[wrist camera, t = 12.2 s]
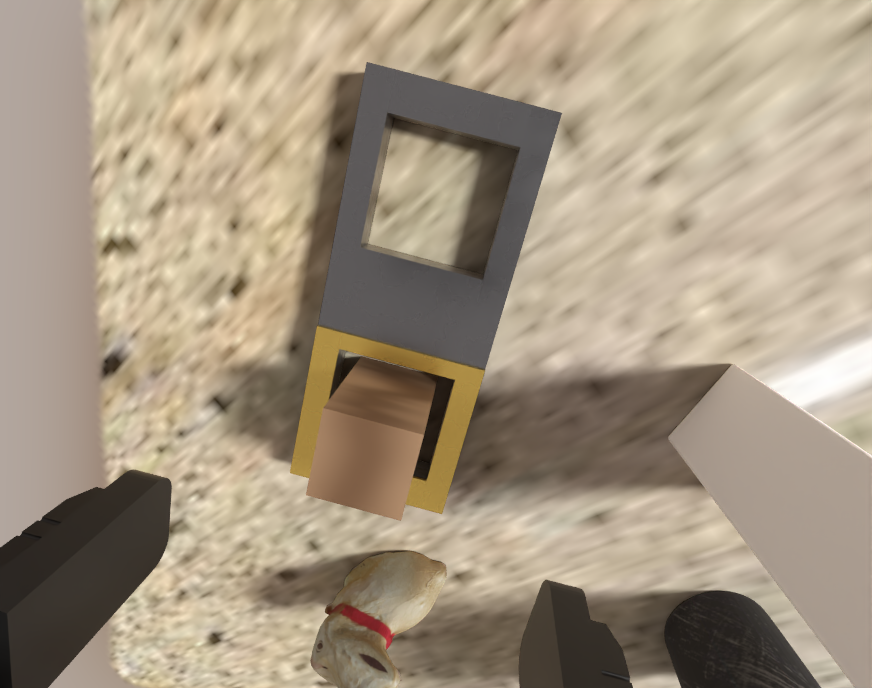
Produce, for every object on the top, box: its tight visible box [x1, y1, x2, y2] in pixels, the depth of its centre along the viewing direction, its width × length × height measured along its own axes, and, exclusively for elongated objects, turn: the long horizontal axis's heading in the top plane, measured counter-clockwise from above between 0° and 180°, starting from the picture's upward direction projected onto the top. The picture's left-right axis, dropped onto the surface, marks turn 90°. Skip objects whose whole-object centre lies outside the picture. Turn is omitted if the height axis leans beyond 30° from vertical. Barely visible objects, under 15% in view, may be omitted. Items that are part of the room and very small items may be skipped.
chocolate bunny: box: [311, 551, 446, 688], centre depth 32 cm, size 6×8×10 cm
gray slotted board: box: [290, 62, 562, 514], centre depth 29 cm, size 10×24×2 cm, turn 166°
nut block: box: [306, 356, 438, 521], centre depth 29 cm, size 5×5×8 cm
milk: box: [668, 364, 872, 688], centre depth 20 cm, size 6×6×22 cm
